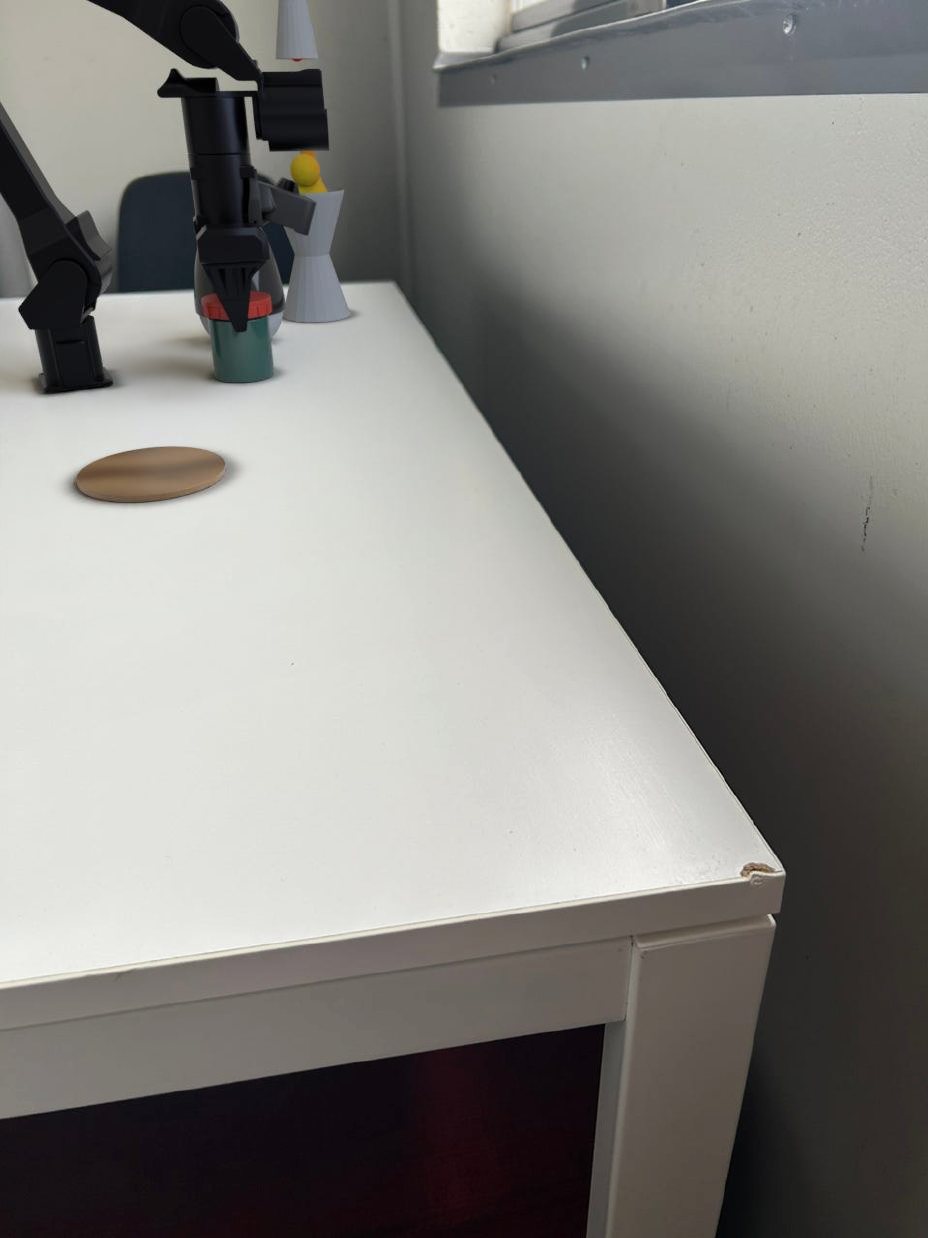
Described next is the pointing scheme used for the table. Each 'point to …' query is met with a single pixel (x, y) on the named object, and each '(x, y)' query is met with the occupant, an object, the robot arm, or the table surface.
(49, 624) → the table surface
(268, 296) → the jar lid
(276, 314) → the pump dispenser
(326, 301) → the lava lamp
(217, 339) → the jar
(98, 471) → the coaster
